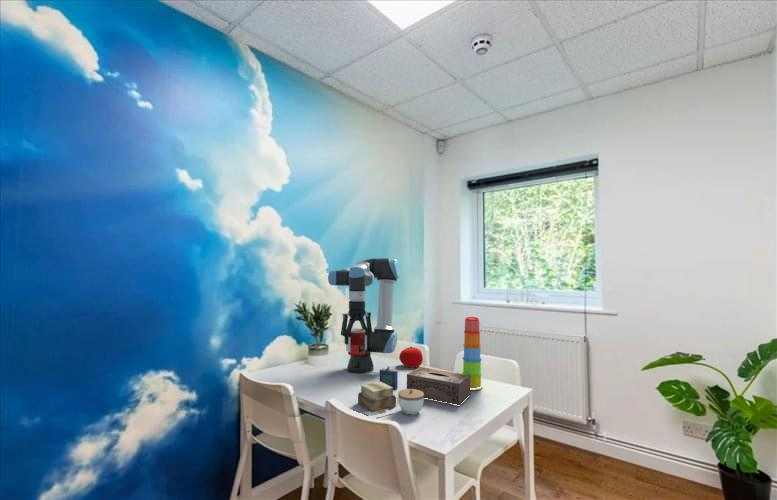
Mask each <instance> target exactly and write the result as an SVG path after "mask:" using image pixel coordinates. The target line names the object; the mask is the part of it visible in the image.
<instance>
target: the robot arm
mask: <svg viewBox="0 0 777 500" xmlns="http://www.w3.org/2000/svg"><path fill="white" fill-rule="evenodd" d="M400 267H401V266H400V264H399V261H398V259H396V258H391V257H390V258H385V257H384V258H374V257H373V258H368V259H364V260H360V261H359V262H356V264H355V265H352V266H349V267H345V268H344V269H340V270H337V269H336V270H330V271H329V273H328V275H327V277H328V278H327V281H328V284H329V285H330V286H335V287H337V286H340V287H341V286H346V287H347V286H348V290H349V291H348V299H349V301H348V312H346V313H342V324H341V330H340V336H343V337H344V345H345V346H346V348H345V351H346V352H347V353H348V352H350V337H349V335H350V332H351V329H353V327H354V323H356V322H357V321H358V322H359V324H360V326H361V328H360V329H364V330H365V354H364V355H361V356H352V355H349V360H348V364H347V368H346V369H347V371H348V372H350V373H354V374H367V373H370V372H373V371H374V369H375V367H374V362H373V359H372V356H371V355H372V353H375V354H377V353H378V354H393V352H395V350H396V347H397V343H398V334H397V332H395V328H394V327H393V314H394V313H393V309H394V307H393V306H394V291H395V289H394V288H395V284H396V283H397V280H398V279H400V277H401V268H400ZM375 279H376V281H377V283H378V285H379V286H378V302H377V320H376V326H374V328H373V327H372V320H371V315H372V312H369V311H366V301H365V300H366V287H370V286H371V285H373V283H374V281H375ZM348 319H349V320H348Z"/></svg>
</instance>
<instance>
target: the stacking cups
mask: <svg viewBox="0 0 777 500" xmlns="http://www.w3.org/2000/svg"><path fill="white" fill-rule="evenodd" d="M463 333H464V337H463V338H464V343H463V345H462V346H463V357H462V360H463V366H462V368H463V370H462V371H461V374H466V375H470V388H477V387H480V386H481V385H482V375H483V372H482V366H481V365H482V360H483V359H482V357H481V347H482V345H481V330H480V319H479V318H478V317H475V316H467V317H465V319H464V331H463Z"/></svg>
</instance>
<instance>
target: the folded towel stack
mask: <svg viewBox="0 0 777 500" xmlns="http://www.w3.org/2000/svg"><path fill="white" fill-rule="evenodd" d="M360 389H361V390H360V391H359V392H358V394H357V404H358V405H359V406H361V407H363V408H365V409H366V410H367V411H368V412H369V411H371V412H375V411H379V410H383V409H388V410H390V409H392V408H396V407H397V396H396V394H394V390H393V387H391V386H389V385H387V384H385V383H383V382H381V381H380V380H379V381H374V382H370V383H366V384H361V385H360Z"/></svg>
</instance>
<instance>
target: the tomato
mask: <svg viewBox="0 0 777 500" xmlns="http://www.w3.org/2000/svg"><path fill="white" fill-rule="evenodd" d="M398 358H399V361H400V363H401V365H404V366H405V367H408V368H419V366H420V367H421V365H422V364H423V360H424V358H423V353H422V351H421V349H420V348H418V347H412V346H409V347H405V348H404V349H402V350H401V352H400V354H399V357H398Z"/></svg>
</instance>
